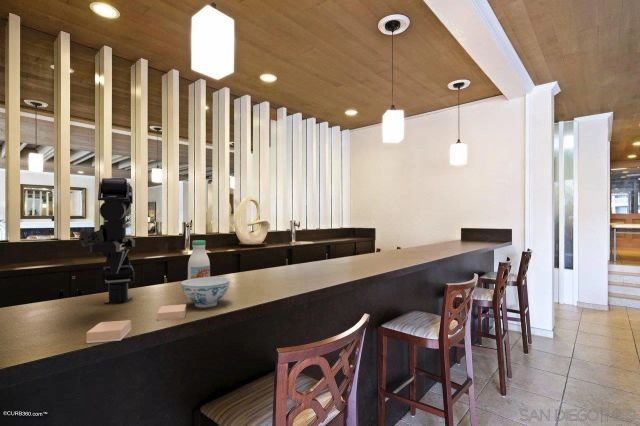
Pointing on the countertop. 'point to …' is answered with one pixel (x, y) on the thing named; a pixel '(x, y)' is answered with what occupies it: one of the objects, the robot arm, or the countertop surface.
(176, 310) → the finished tile
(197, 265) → the milk bottle
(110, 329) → the tile
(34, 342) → the countertop surface
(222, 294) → the chinaware
